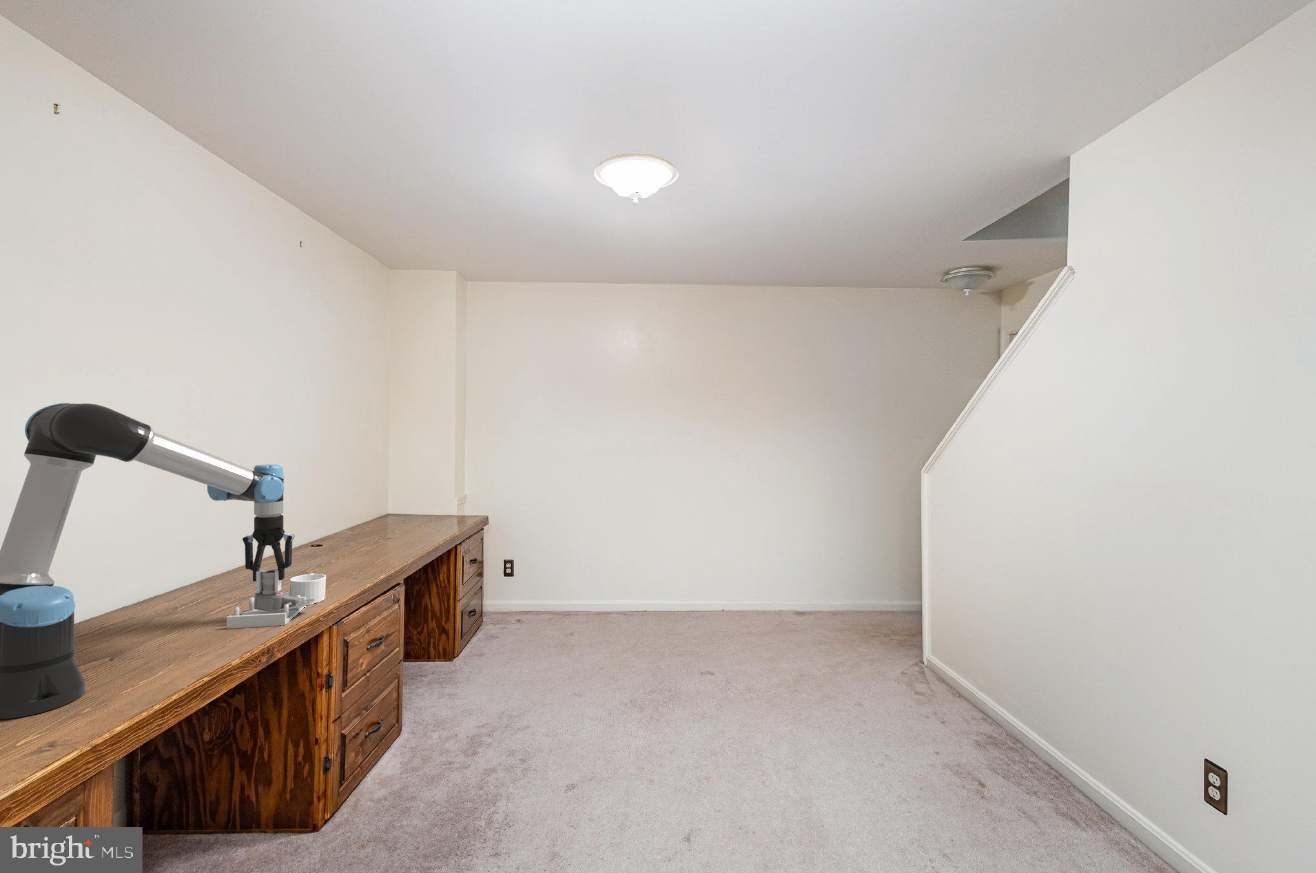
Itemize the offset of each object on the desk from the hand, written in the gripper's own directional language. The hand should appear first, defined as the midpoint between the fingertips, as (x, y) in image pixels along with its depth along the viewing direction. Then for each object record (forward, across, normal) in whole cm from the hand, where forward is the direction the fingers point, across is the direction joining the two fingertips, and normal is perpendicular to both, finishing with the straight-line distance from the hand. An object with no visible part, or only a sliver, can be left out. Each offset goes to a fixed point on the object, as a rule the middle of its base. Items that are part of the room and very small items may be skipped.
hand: (268, 591), depth 180 cm
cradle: (+8, 0, 0) cm, 8 cm away
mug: (+8, -6, -17) cm, 20 cm away
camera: (+6, -3, 0) cm, 7 cm away
